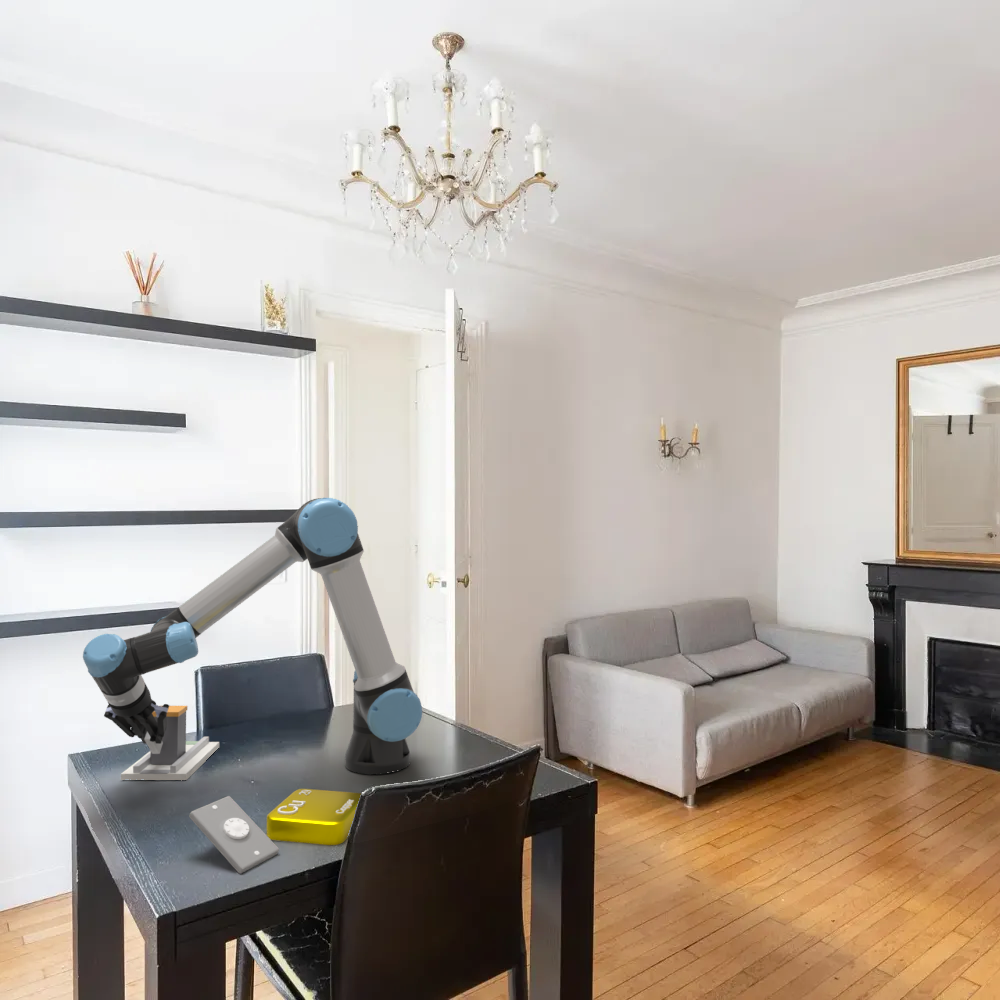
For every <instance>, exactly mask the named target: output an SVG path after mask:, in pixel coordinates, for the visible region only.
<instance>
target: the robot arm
mask: <svg viewBox="0 0 1000 1000" xmlns="http://www.w3.org/2000/svg"><path fill="white" fill-rule="evenodd" d="M358 530H359V525H358V520H357V517H356V515H355V513H354V511H353V509H351V507H349V506H348V505H347V504H346V503H345V502H343V501H341V500H339V499H337V498H333V497H321V498H313V499H310V500H309V501H306V502H305V503H303V504H302V505H301V506H300V507H299V508H298V509H297V510H296V511H295V512H294V513H293V514H292V515H291V516H290V517H289V518H287V519H286V520H285V521H284V522H283V523H282V524H280V525H279V526H278V527H276V529H275V534H274V535H273V536H272V537H270V538H269V539H268V540H267V541H265V542H263V544H261V545H260V546H258V547H257V548H256V549H254V550H253V551H252V552H250V553H249V554H248V555H246V556H245V557H244V558H243V559H241V560H240V561H239V562H237V563H236V564H234V565H233V566H232V567H230V568H229V569H227V570H226V571H225V572H224V573H223V574H220V576H218V577H217V578H216V579H214V580H213V581H212V582H210V583H209V584H207V585H206V586H204V588H203V589H201V590H200V591H198V592H197V593H195V594H194V595H193V596H191V597H190V598H189V599H188V600H186V601H185V602H184V603H182V604H181V605H180V606H179V607H177V608H176V609H174V610H173V611H171V612H170V613H168V615H166V616H164V617H161V618H159V619H158V620H157V621H156V622H155V623H154V624H153V625H152V627H151V629H150V631H149V632H146V633H143V634H141V635H140V634H139V635H138V636H133V637H128V638H126V639H123V638H122V637H121V636H120V635H118V634H115V633H104V634H103V633H102V634H100V635H98V636H97V635H96V637H94V638H92V639H90V641H89V642H88V643H87V644H86V645H85V648H84V649H83V653H82V660H83V662H84V664H85V666H86V668H87V672H88V673H89V675H90V676H91V678H92V679H93V680H94V682H95V683H96V685H97V687H98V688H99V690H100V692H101V693H102V696H103V697H104V699H105V700H106V702H107V703H108V705H107V707H106V709H105V711H104V713H103V714H104V715H103V717H104V718H106V719H109V720H110V721H111V722H113V723H114V724H115V725H116V726H117V727H118V728H119V729H121V731H123V732H124V734H126V735H127V736H128V737H129V738H134V737H137V738H139V739H140V740H141V742H142V743H143V744H144V745H147V747H148V748H149V751H151V752H152V754H160V751H161V748H162V745H163V741H162V738H163V737H164V734H165V731H166V728H167V712H168V708H169V706H170V704H167V703H165V704H163V705H158V704H157V702H156V701H155V700H153V698H152V696H151V691H150V690H149V687H148V686H147V684H146V682H145V680H144V677H143V676H142V675H145V674H147V673H151V672H154V671H157V670H161V669H163V668H166V667H170V666H173V665H176V664H182V663H184V662H185V661H189V660H190V659H193V658H195V657H197V656H198V654H199V647H198V641H197V637H199V636H201V635H202V634H203V633H204V632H205V631H206V630H208V629H210V628H211V627H212V626H213V625H215V624H216V623H217V622H219V621H220V620H221V619H223V618H224V617H225V616H226V615H228V614H229V613H231V612H232V611H233V610H234V609H236V608H237V607H238V606H240V605H241V604H242V603H244V602H245V601H246V600H247V599H249V598H250V597H252V596H253V595H254V594H256V593H257V592H258V591H260V590H261V589H262V588H264V587H265V586H266V585H268V584H269V583H270V582H272V581H273V580H275V579H276V577H278V576H279V575H281V574H282V573H283V572H285V571H286V570H288V569H289V568H290V567H292V565H294V564H295V563H297V562H298V563H304V562H305V561H306V560H307V561H308V564H309V566H310V570H311V571H314V572H316V573H317V574H320V575H321V579H322V581H323V584H324V586H325V589H326V590H325V591H326V593H327V595H328V597H329V600H330V604H331V606H332V608H333V612H334V614H335V617H336V620H337V624H338V626H339V628H340V631H341V633H342V634H341V635H342V636H343V640H344V642H345V645H346V648H347V650H348V653H349V657H350V660H351V662H352V665H353V667H354V669H355V670H354V672H353V674H354V675H353V678H352V683H353V711H352V712H353V715H352V717H353V719H352V720H353V723H352V724H353V726H352V735H351V737H350V741H349V743H348V745H347V748H346V753H345V757H344V766H345V769H347V770H349V771H350V772H352V773H356V772H358V773H357V774H360V773H365V774H364V775H371V774H376V775H381V774H380V773H387V772H392V771H397V770H400V771H402V770H401V769H403V768H405V767H406V766H408V765H409V766H410V764H411V751H410V747H409V745H408V740H407V738H409V737H410V736H411V735H412V734H413V733H414V732H416V731H417V729H418V728H419V725H420V724H421V721H422V719H423V718H422V717H423V707H422V702H421V700H420V698H419V697H418V695H417V694H416V693H415V691H414V689H413V686H412V684H411V681H410V678H409V675H408V672H407V670H406V667H405V666H404V665H402V664H399V663H397V662H396V660H395V657H394V653H393V651H392V648H391V645H390V643H389V639H388V637H387V634H386V631H385V628H384V625H383V623H382V620H381V617H380V614H379V611H378V608H377V605H376V603H375V600H374V597H373V594H372V591H371V589H370V586H369V583H368V580H367V576H366V574H365V571H364V568H363V566H362V563H361V558H362V557H363V553H364V552H365V550H364V548H363V544H362V542H361V538H360V535H359V533H358V532H359V531H358ZM154 711H155V712H156V714H157V715H156V717H158V719H157V722H156V720H155V718H154V716H153V714H152V713H153V712H154ZM409 763H410V764H409ZM409 766H408V767H409ZM406 768H407V767H406ZM406 768H405V769H406ZM403 770H404V769H403ZM397 772H398V771H397Z"/></svg>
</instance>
